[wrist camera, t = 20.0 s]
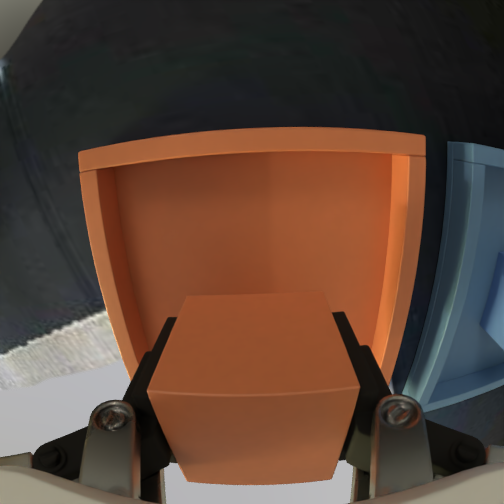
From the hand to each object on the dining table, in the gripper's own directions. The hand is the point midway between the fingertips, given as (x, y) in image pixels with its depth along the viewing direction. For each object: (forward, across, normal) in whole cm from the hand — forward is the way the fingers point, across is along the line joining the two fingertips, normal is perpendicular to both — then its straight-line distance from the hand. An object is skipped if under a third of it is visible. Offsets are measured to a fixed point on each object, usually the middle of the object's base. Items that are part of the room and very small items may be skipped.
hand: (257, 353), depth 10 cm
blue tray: (+3, -15, 0) cm, 15 cm away
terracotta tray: (+3, 0, 0) cm, 3 cm away
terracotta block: (0, 0, 0) cm, 0 cm away
